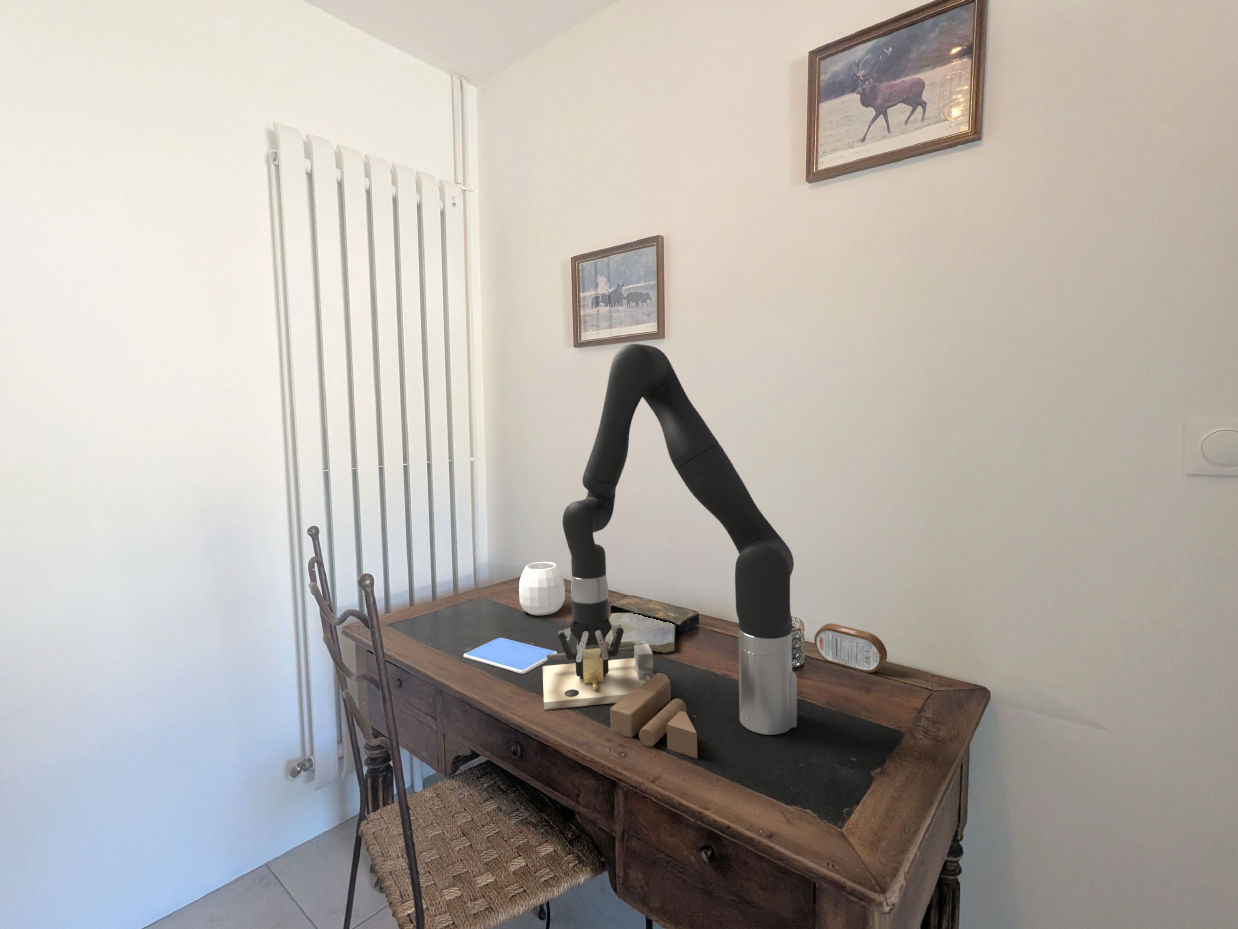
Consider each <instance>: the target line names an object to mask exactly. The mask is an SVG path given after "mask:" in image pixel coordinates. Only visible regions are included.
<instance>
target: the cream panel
mask: <svg viewBox="0 0 1238 929" xmlns="http://www.w3.org/2000/svg"><path fill="white" fill-rule="evenodd" d="M624 653H634V656H633V658H632V657H631V658H630V657H629V658H621V659H620V658H619V659H611V660H610V659H608V669H609V672H608V674H606V677H603V682H596V683H597V686H598V687H597V689H593V685H592V683H584V682H583V679H580V677H579V676H578V677H577V675H576V663H575V662H574V663H566V664H565V663H564V664H552V665H544V666H542V681H543V682H542V684H543V686H542V687H543V689H542V690H543V710H544V711H547V710H556V709H566V708H567V709H568V708H576V707H578V708H579V707H586V706H587V707H588V706H595V705H596V706H597V705H605V704H606V705H607V704H616V703H618V702H619V701H620V700H621V699H623V698H624V697H625V696H626V695H628V694H629V693H630V692H631V691H633V690H634V689H635V688H639V687H641V686H642V685H643V684H644V683H646V682H647V681H648V680H649V679H651V678H652V677H653V676H654V675H655V674H654V653H653V651H651V649H650V647H649V645H648V644H642V645H634V647H629V648H619V649H618V653H617V654H624ZM601 654H602V653H601ZM547 659H550V660H556V659H567V657H566V654H565V652H563V653H562V652H561V653H560V652H559V653H557V654H548V655H547Z"/></svg>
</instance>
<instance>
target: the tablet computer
mask: <svg viewBox="0 0 1238 929" xmlns="http://www.w3.org/2000/svg"><path fill="white" fill-rule="evenodd" d="M548 654H558V652H557V651H556V650H552V649H548V648H544V647H540V646H535V645H531V644H528V643H525V642H520V641H515V640H512V639H507V638H504V637H498V638H495V639H493V640H491V641H489V642H486V643H484V644H482V645H480V646H478V647H475V648H474V649H472V650H469V651H467V652H465V653H464V654H463V658H466V659H468V658H469V660H473V661H477V662H480V663H483V664H487V665H490V666H494V667H497V668H502V669H504V670H508V671H511V672H514V673H517V674H523V675H524V674H526V673H527V674H528V673H529V672H530V671H532V670H534V669H535V668H538V667H539V666H541V665H543V664H544V663H545V662H548V661H550V660H551V659H547V655H548Z"/></svg>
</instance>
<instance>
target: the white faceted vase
mask: <svg viewBox="0 0 1238 929" xmlns="http://www.w3.org/2000/svg"><path fill="white" fill-rule="evenodd" d="M518 586H519V587H518V596H519V604H520V606H521V608H522V610H524V612H526V613H528V614H529V615H533V616H548V615H552V614H554V613H556V612H558V611H559V610H560V609H561V608H562V606H563V605H564V602H565V599H566V598H565V597H566V590H565V589H566V588H565V582H564V578H563V575H562V572H561V571H560V568H558V565H557V564H556V563H554V562H551V561H550V562H549V561H538V562H532V563H528V564H527V565H525V567H524V569H523V570H522V573H521V575H520V578H519V585H518Z"/></svg>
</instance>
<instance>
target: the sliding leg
mask: <svg viewBox="0 0 1238 929" xmlns="http://www.w3.org/2000/svg"><path fill="white" fill-rule="evenodd" d="M582 662H583V682H584V683H592V685H593V689H597V687H598V686H597V683H596V682H603V657H602V654H601V650H600V647H597V648H588V649H587V648H585V650H584V653H583V657H582Z"/></svg>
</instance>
